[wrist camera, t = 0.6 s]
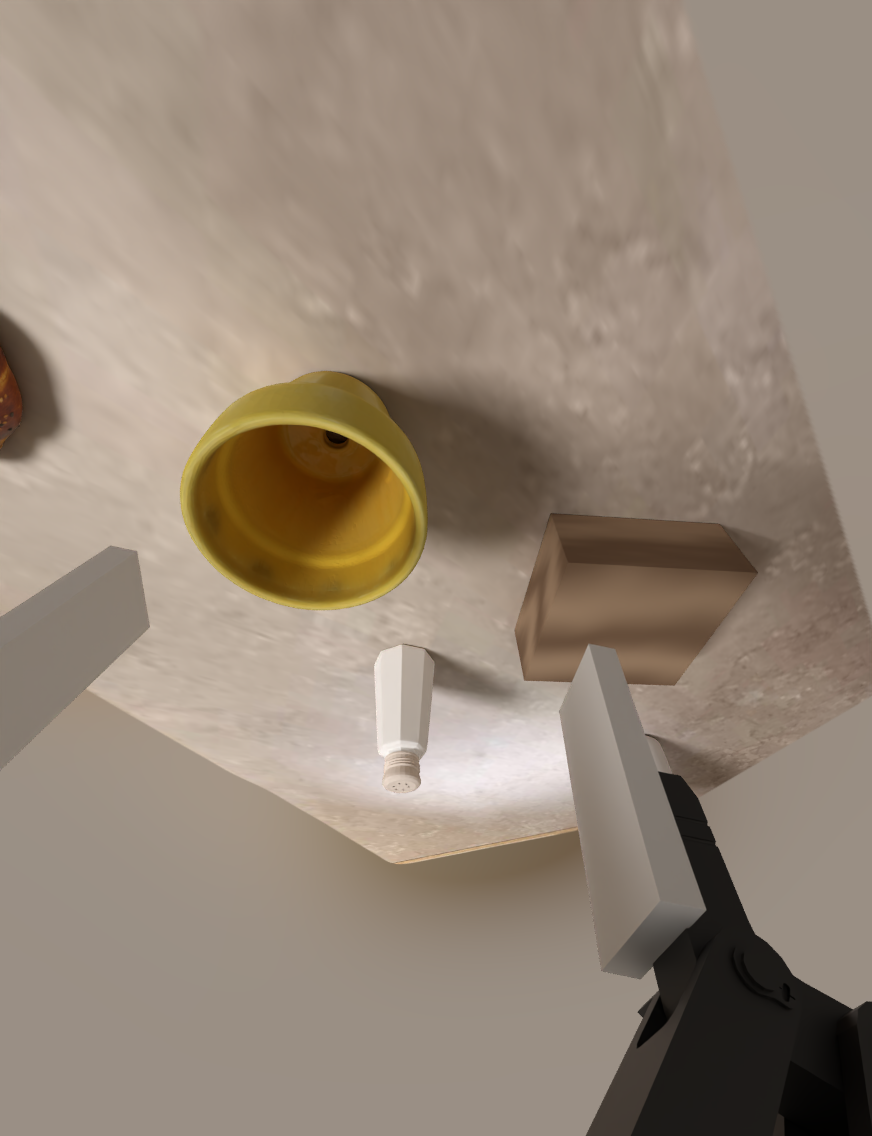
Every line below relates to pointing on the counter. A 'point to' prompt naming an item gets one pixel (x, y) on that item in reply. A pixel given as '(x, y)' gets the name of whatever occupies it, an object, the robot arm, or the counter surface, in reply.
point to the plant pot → (307, 495)
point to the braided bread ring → (8, 401)
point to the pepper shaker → (403, 713)
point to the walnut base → (627, 595)
